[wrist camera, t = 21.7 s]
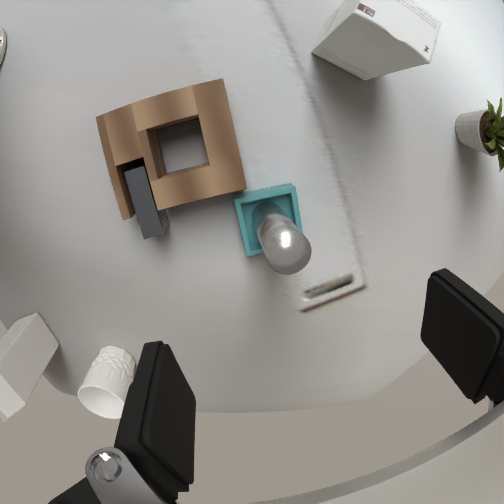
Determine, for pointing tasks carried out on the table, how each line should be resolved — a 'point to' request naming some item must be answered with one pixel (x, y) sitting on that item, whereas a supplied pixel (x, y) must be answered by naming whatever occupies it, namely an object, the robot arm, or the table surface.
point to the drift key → (145, 203)
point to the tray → (248, 201)
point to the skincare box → (377, 37)
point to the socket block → (147, 145)
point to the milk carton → (23, 361)
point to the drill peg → (280, 239)
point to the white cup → (107, 382)
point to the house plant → (483, 131)
